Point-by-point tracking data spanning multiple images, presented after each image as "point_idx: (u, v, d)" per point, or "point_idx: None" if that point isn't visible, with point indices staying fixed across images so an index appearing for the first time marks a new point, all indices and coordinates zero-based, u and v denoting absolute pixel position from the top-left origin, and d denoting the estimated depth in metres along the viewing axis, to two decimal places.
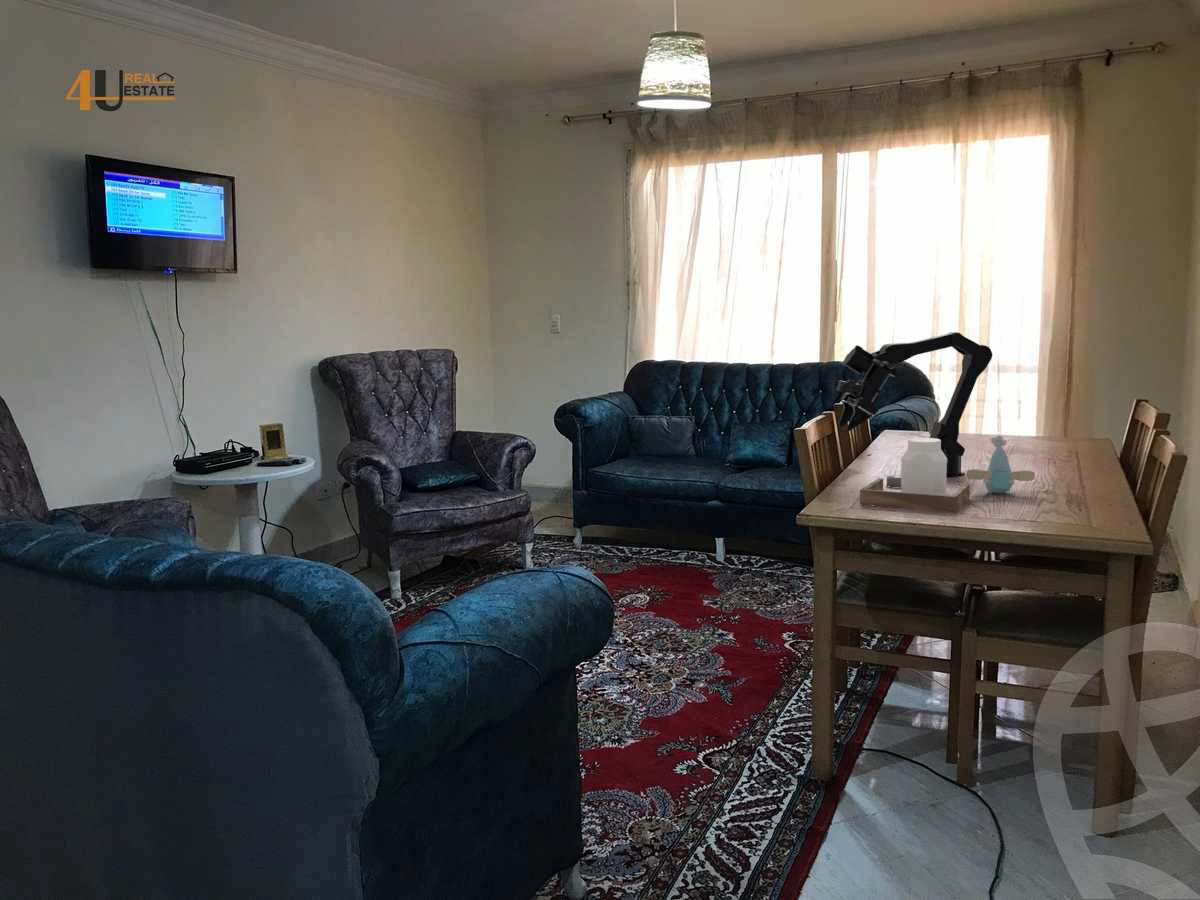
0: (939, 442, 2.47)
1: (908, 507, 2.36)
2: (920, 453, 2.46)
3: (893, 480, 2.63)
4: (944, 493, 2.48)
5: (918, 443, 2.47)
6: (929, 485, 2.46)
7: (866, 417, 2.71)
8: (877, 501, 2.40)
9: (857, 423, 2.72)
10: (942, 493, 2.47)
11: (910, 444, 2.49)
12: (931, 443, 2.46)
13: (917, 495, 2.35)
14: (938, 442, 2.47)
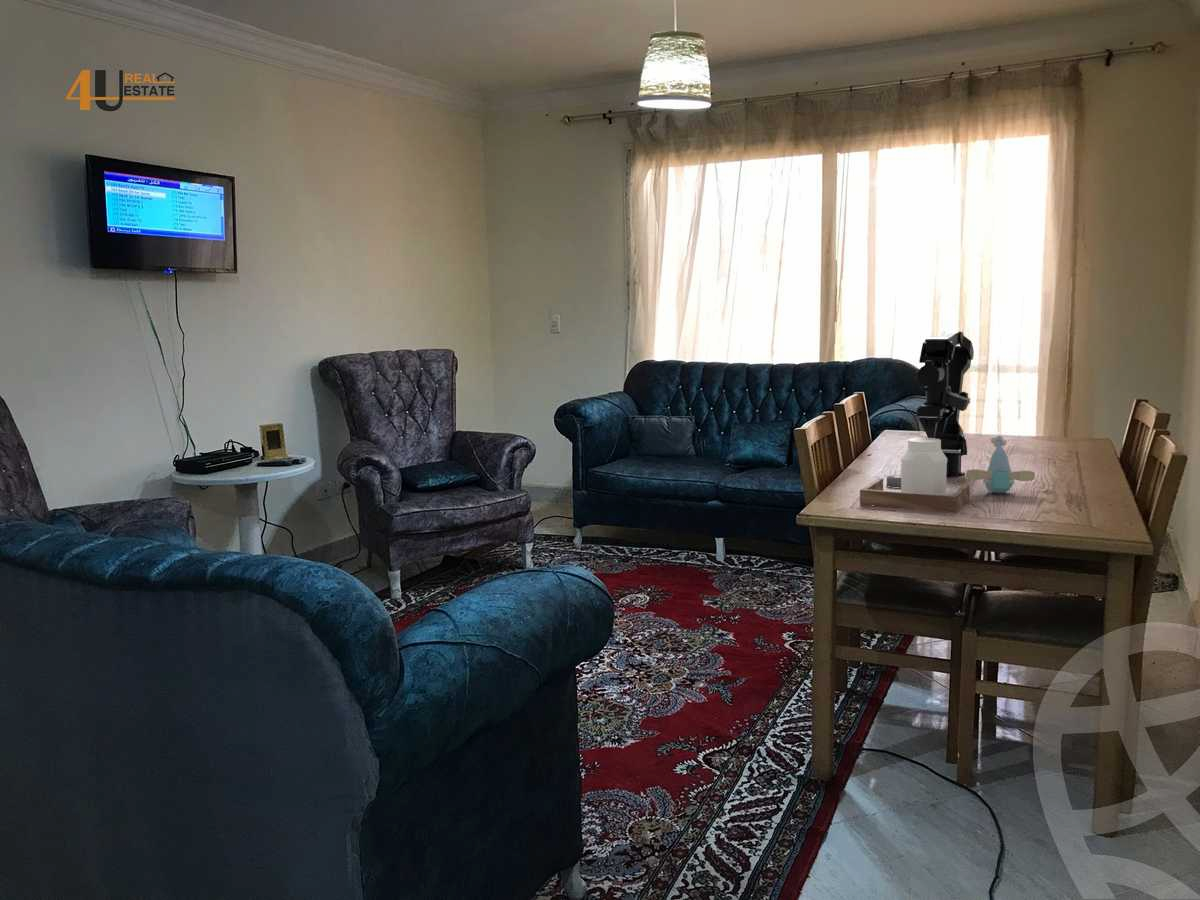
0: (939, 442, 2.47)
1: (908, 507, 2.36)
2: (920, 453, 2.46)
3: (893, 480, 2.63)
4: (944, 493, 2.48)
5: (918, 443, 2.47)
6: (929, 485, 2.46)
7: None
8: (877, 501, 2.40)
9: None
10: (942, 493, 2.47)
11: (910, 444, 2.49)
12: (931, 443, 2.46)
13: (917, 495, 2.35)
14: (938, 442, 2.47)
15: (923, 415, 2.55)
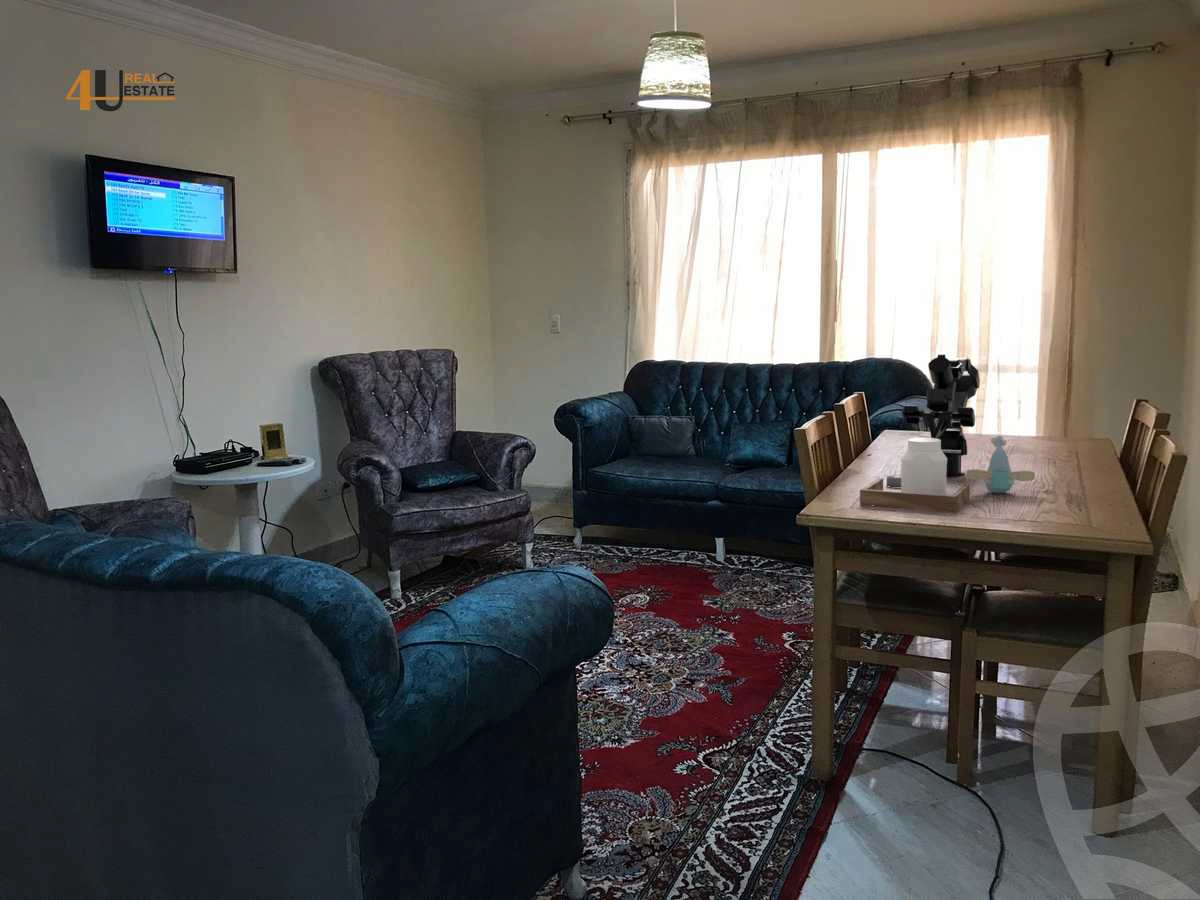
0: (939, 442, 2.47)
1: (908, 507, 2.36)
2: (920, 453, 2.46)
3: (893, 480, 2.63)
4: (944, 493, 2.48)
5: (918, 443, 2.47)
6: (929, 485, 2.46)
7: (945, 428, 2.62)
8: (877, 501, 2.40)
9: (940, 433, 2.60)
10: (942, 493, 2.47)
11: (910, 444, 2.49)
12: (931, 443, 2.46)
13: (917, 495, 2.35)
14: (938, 442, 2.47)
15: None
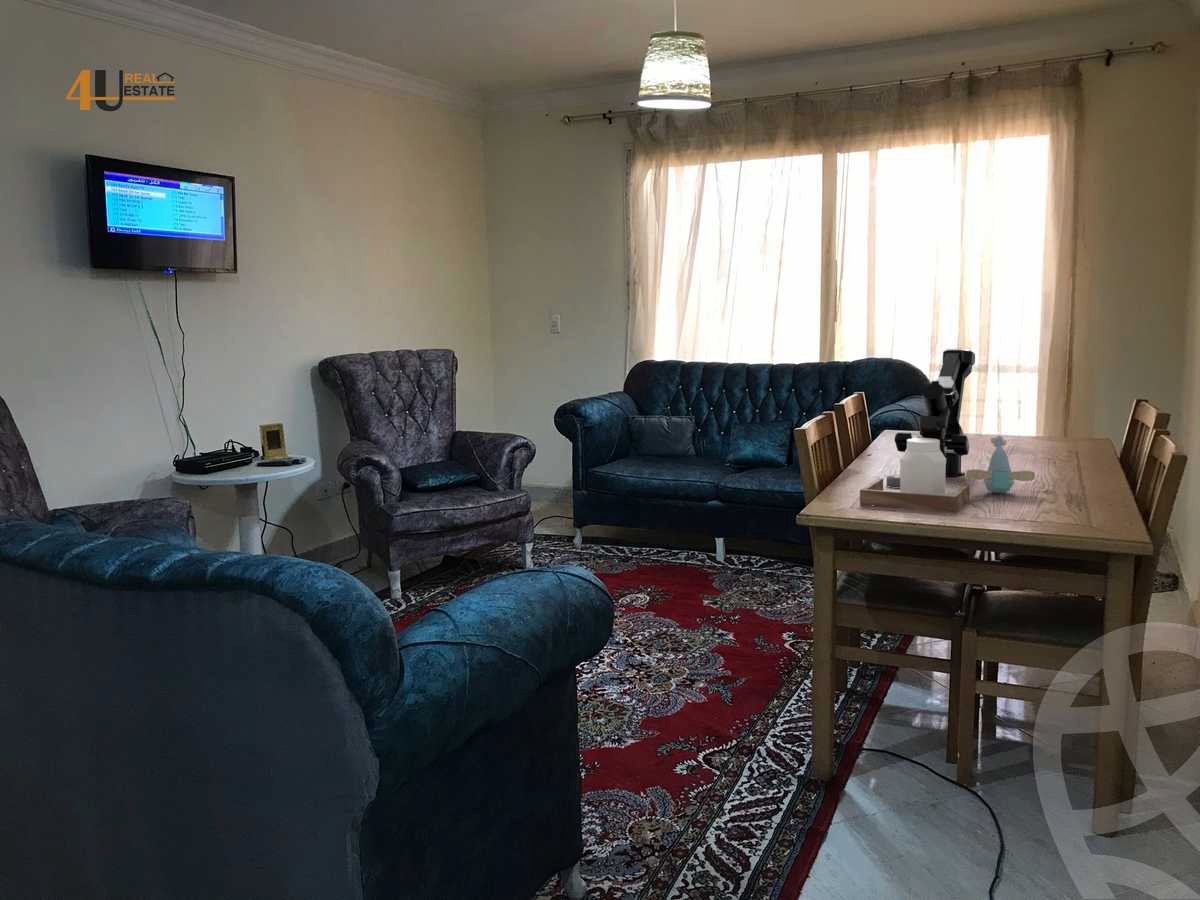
0: (938, 442, 2.46)
1: (908, 507, 2.36)
2: (918, 454, 2.45)
3: (893, 480, 2.63)
4: (943, 494, 2.47)
5: (917, 443, 2.46)
6: (928, 485, 2.46)
7: None
8: (877, 501, 2.40)
9: None
10: (941, 494, 2.46)
11: (909, 444, 2.48)
12: (930, 443, 2.45)
13: (917, 495, 2.35)
14: (937, 442, 2.46)
15: None
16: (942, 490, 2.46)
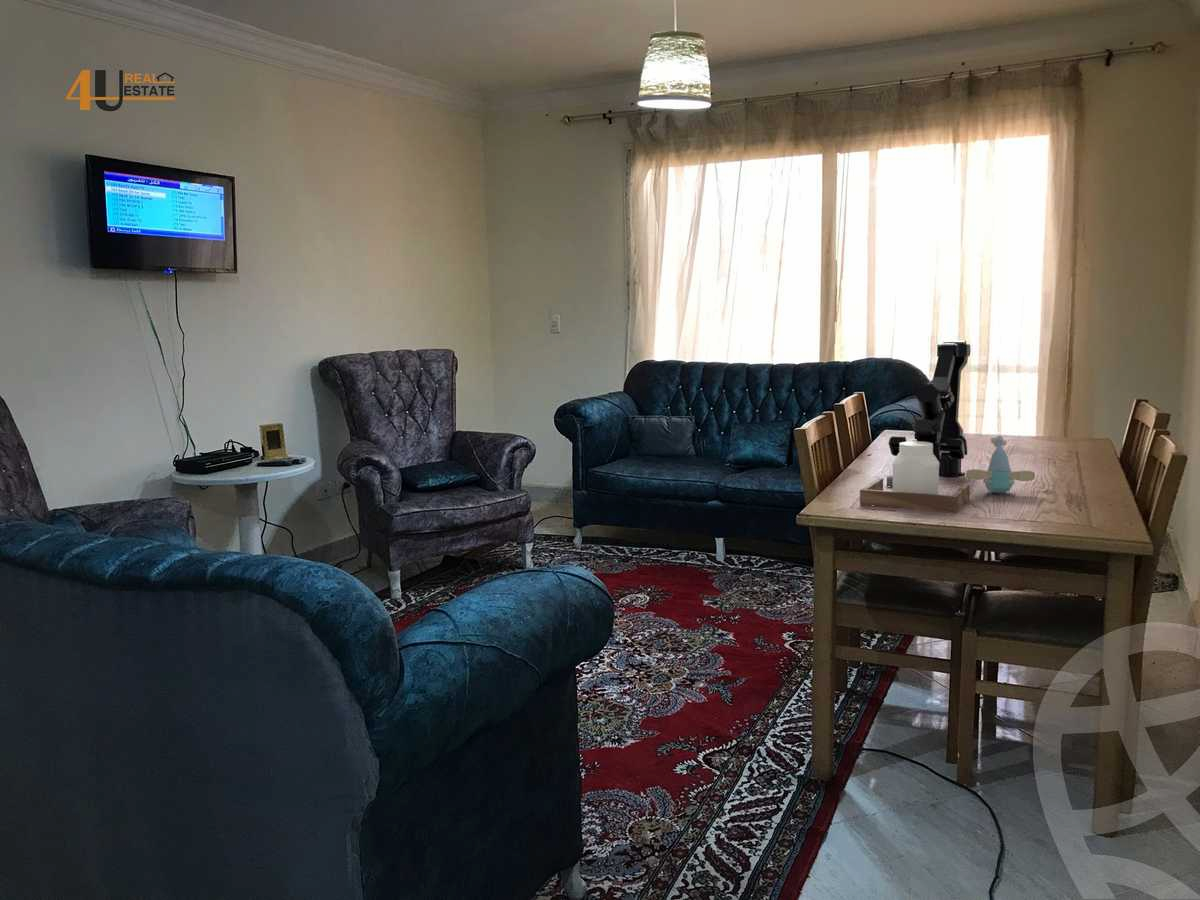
0: (930, 446, 2.41)
1: (908, 507, 2.36)
2: (909, 457, 2.41)
3: None
4: None
5: (908, 447, 2.41)
6: (919, 489, 2.41)
7: None
8: (877, 501, 2.40)
9: None
10: None
11: (901, 448, 2.43)
12: (921, 447, 2.40)
13: (917, 495, 2.35)
14: (929, 446, 2.40)
15: None
16: None
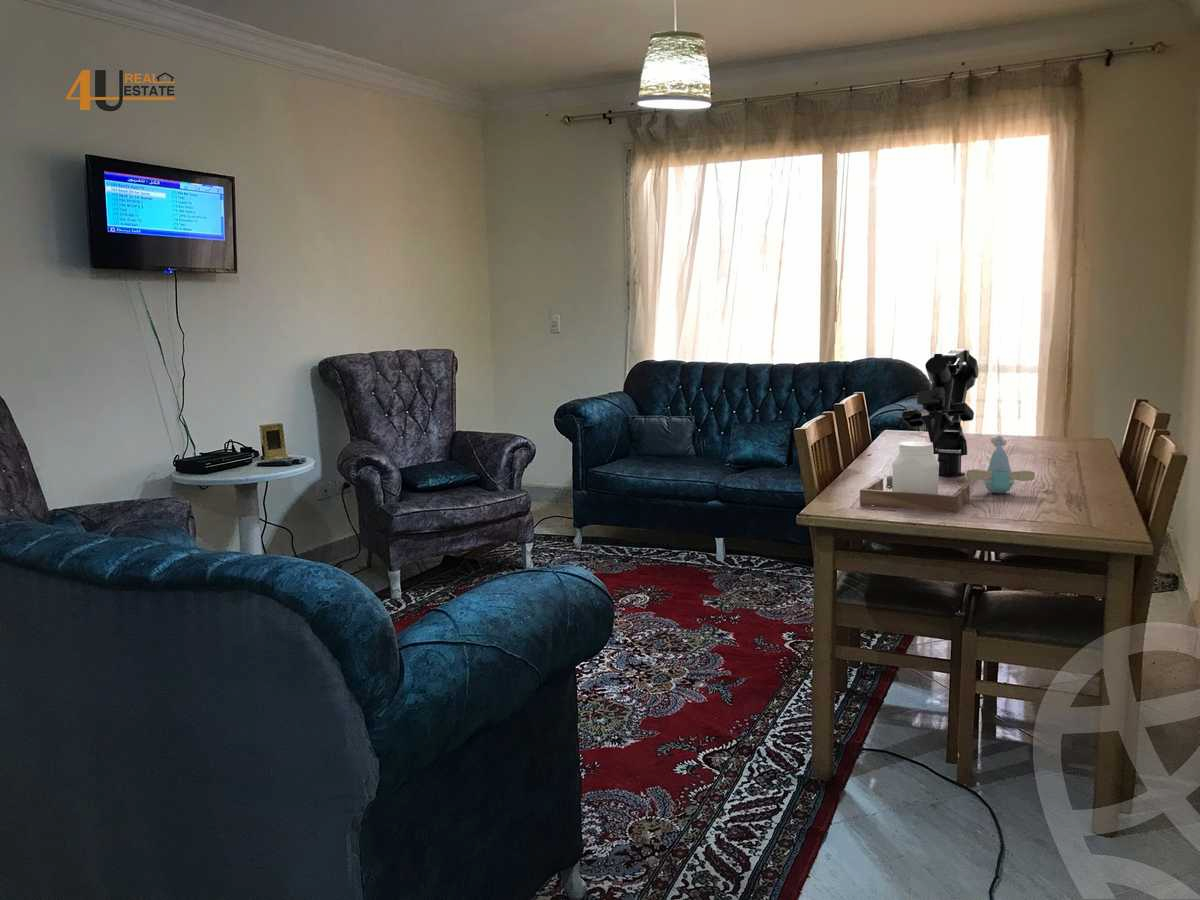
0: (930, 446, 2.41)
1: (908, 507, 2.36)
2: (909, 458, 2.41)
3: None
4: None
5: (908, 447, 2.41)
6: (918, 490, 2.40)
7: (946, 426, 2.60)
8: (877, 501, 2.40)
9: (940, 433, 2.59)
10: None
11: (900, 448, 2.43)
12: (921, 447, 2.40)
13: (917, 495, 2.35)
14: (929, 446, 2.40)
15: None
16: None
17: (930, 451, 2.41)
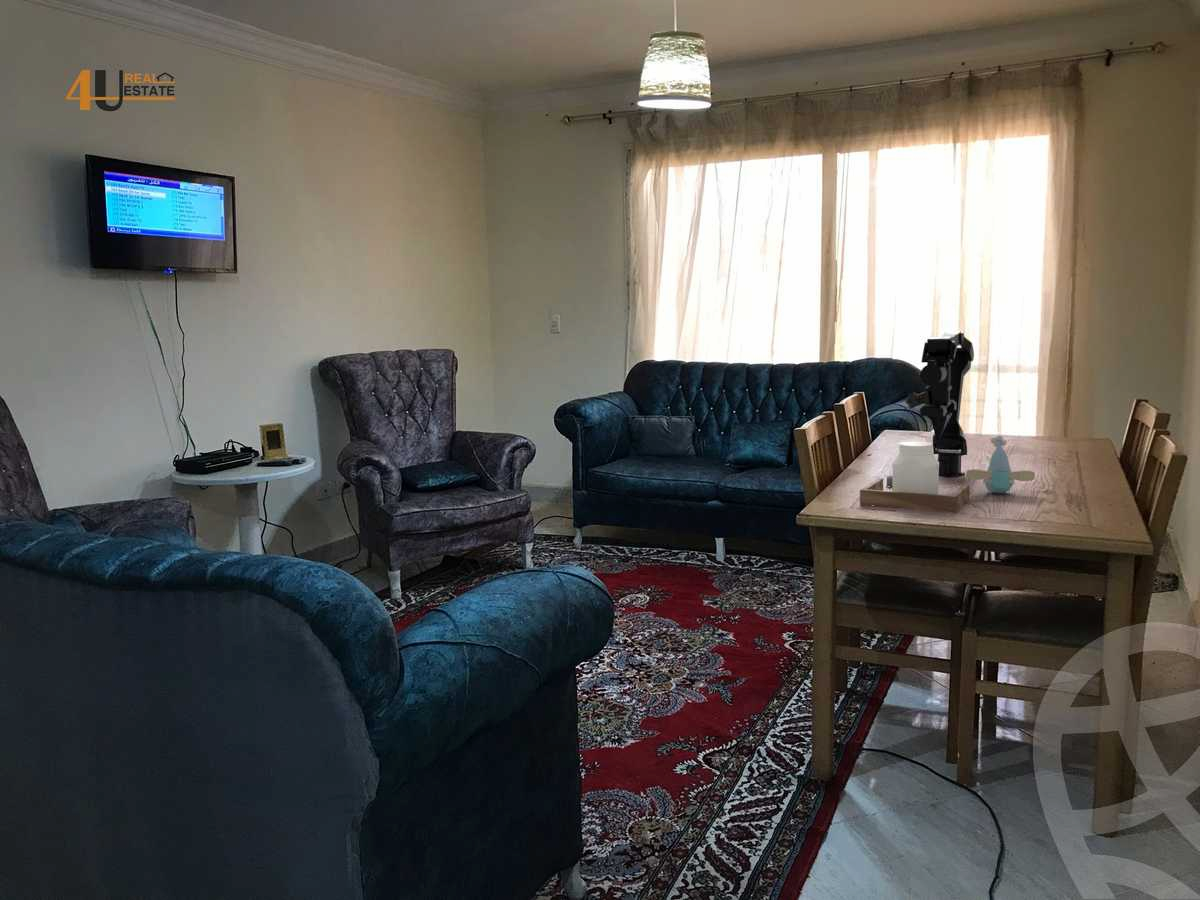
0: (930, 446, 2.41)
1: (908, 507, 2.36)
2: (909, 458, 2.41)
3: None
4: None
5: (908, 447, 2.41)
6: (918, 490, 2.40)
7: (944, 419, 2.60)
8: (877, 501, 2.40)
9: (941, 428, 2.62)
10: None
11: (900, 448, 2.43)
12: (921, 447, 2.40)
13: (917, 495, 2.35)
14: (929, 446, 2.40)
15: None
16: None
17: (930, 451, 2.41)
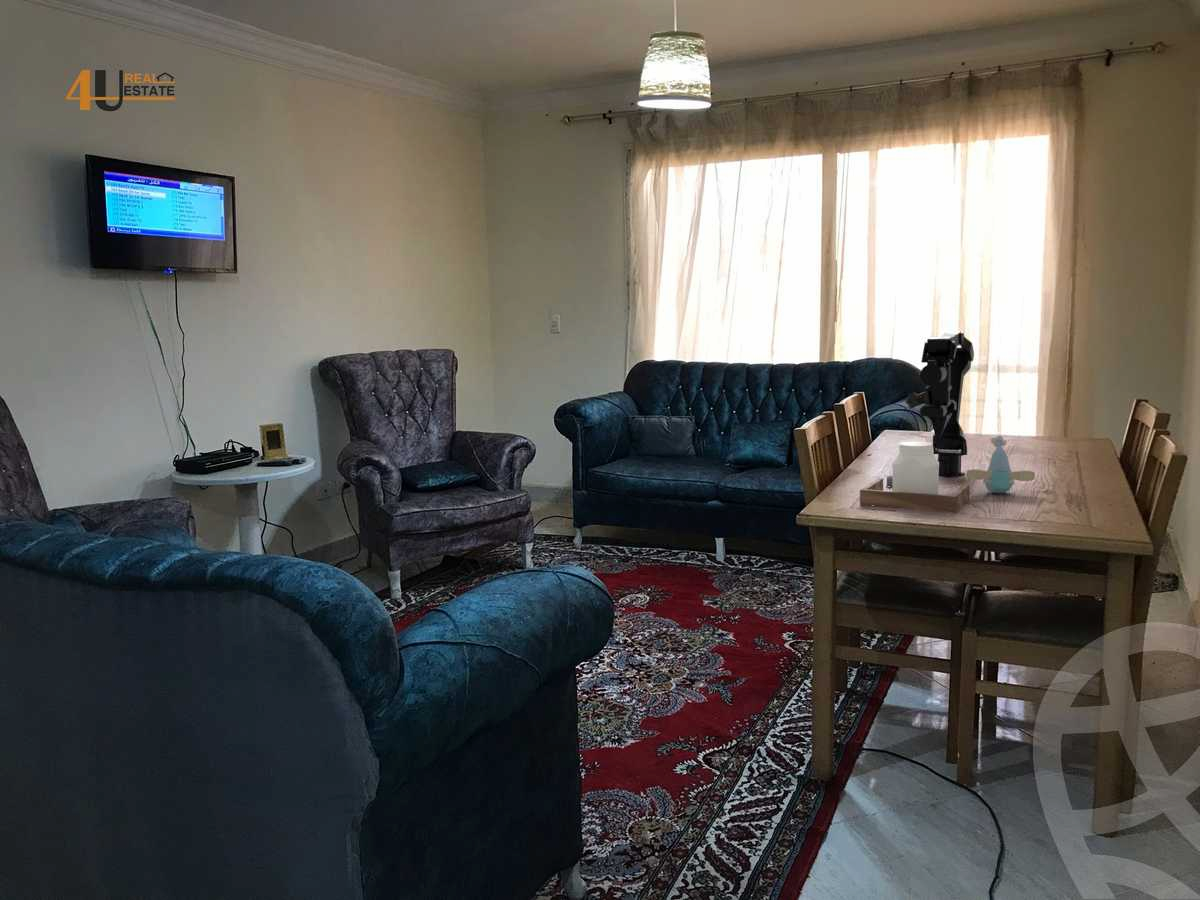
0: (930, 446, 2.41)
1: (908, 507, 2.36)
2: (909, 458, 2.41)
3: None
4: None
5: (908, 447, 2.41)
6: (918, 490, 2.40)
7: (944, 419, 2.60)
8: (877, 501, 2.40)
9: (941, 428, 2.62)
10: None
11: (900, 448, 2.43)
12: (921, 447, 2.40)
13: (917, 495, 2.35)
14: (929, 446, 2.40)
15: None
16: None
17: (930, 451, 2.41)
